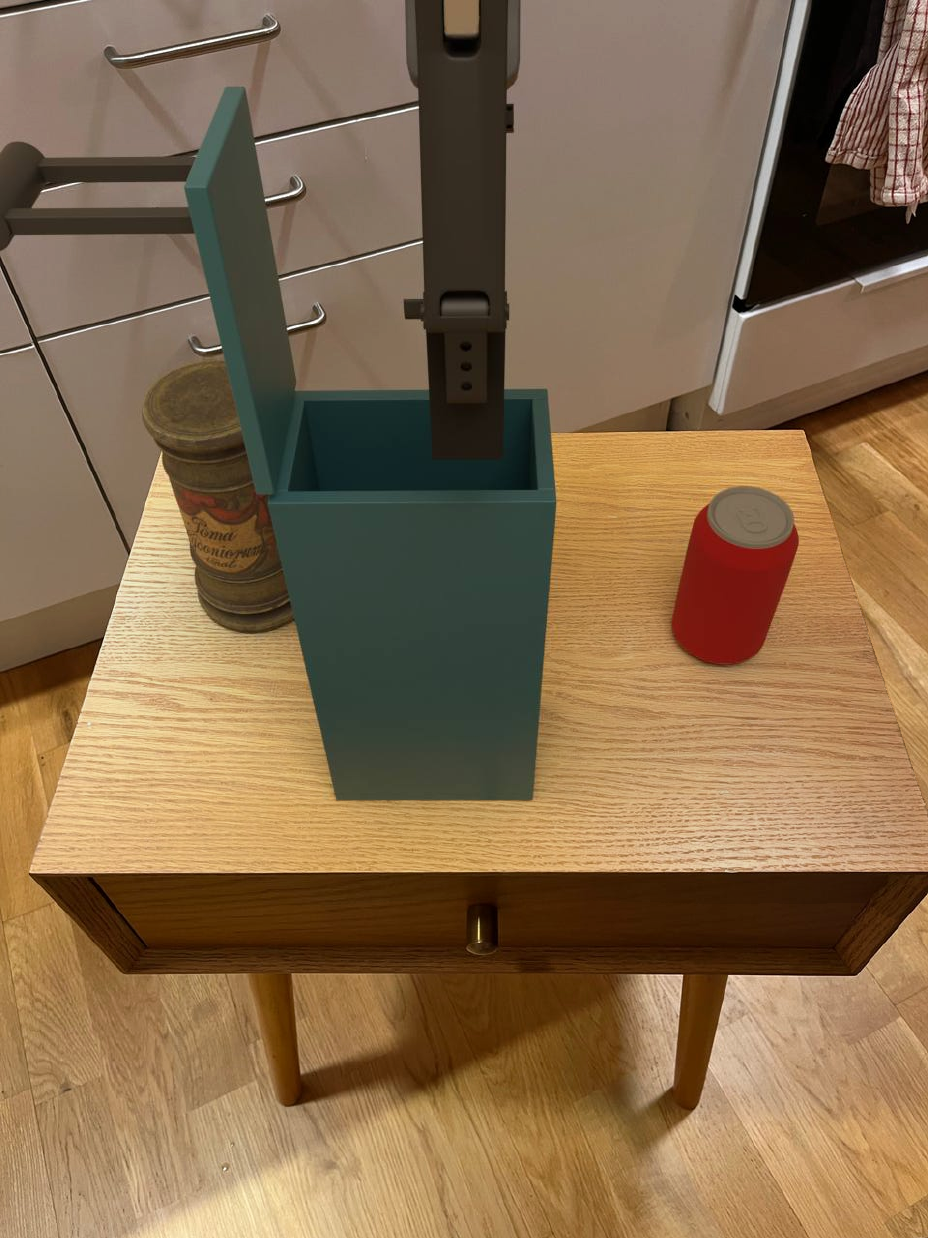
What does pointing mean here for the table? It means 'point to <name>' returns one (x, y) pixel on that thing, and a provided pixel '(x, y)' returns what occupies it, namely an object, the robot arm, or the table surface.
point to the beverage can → (734, 574)
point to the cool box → (418, 592)
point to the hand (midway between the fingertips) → (468, 362)
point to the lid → (227, 244)
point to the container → (218, 498)
